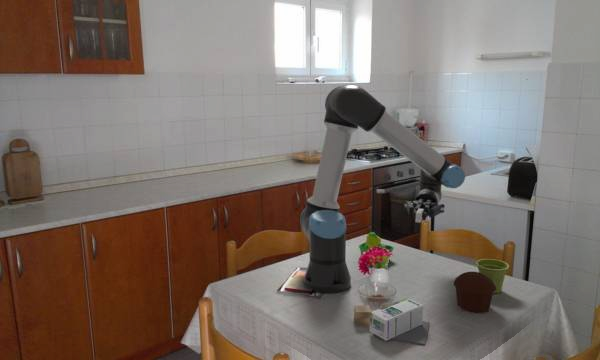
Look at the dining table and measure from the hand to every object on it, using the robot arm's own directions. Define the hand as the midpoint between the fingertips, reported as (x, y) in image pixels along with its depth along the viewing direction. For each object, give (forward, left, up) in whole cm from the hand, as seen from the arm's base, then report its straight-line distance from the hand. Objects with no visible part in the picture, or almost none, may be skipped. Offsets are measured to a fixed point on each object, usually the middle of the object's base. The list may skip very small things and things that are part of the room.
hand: (418, 217), depth 142 cm
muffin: (+17, 0, -25) cm, 30 cm away
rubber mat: (0, -21, -25) cm, 33 cm away
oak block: (-12, -20, -25) cm, 34 cm away
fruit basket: (-18, +30, -25) cm, 43 cm away
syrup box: (+2, -16, -22) cm, 27 cm away
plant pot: (+22, +14, -25) cm, 36 cm away
